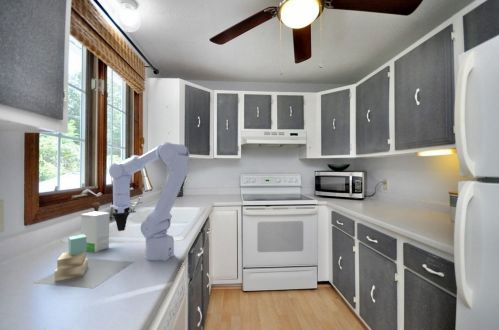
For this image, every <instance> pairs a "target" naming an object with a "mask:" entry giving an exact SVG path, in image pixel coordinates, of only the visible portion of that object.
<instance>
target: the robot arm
mask: <svg viewBox="0 0 499 330" xmlns="http://www.w3.org/2000/svg"><path fill="white" fill-rule="evenodd" d="M190 156H191V154H190V151H189V149H188V147H187V146H185V145H184V144H178V143H171V142H163V143H162V144H159V145H157V147H155V148H153V149H152V150H149V151H148V152H146V153H145V154H142V155H138V154H137V155H136V154H132V155H130V157H129V158H127V159H123V160H122V161H121V162H113V163H112V164H111V165H110V166H109V169H108V172H109V175H110V177H111V178H112V201H113V203H112V204H111V205H109V208H110V209H111V208H112V209H113V210H114V212H112V216H113V218H114V220H115V224H116V227H117V230H118V232H123V231H126V230H125V229H126V226H127V225H126V224H127V220H128V217H129V215H130V213H131V211H130V210H131V203H130V202H131V189H130V188H131V185H130V183H131V180H132V176H133V174H135V173H137V172H139V171H141V170H143V169H144V168H145V167H146V165H147V164H150V163H152V162H155V161H157V160H160V159H161V160H162V161H163V163H165V165H166V166H167V167H168V168H169V171H170V173H169V175H168V177H167V178H166V179H167V180H166V181H165V184H164V186H163V188H162V191H161V194H160V196H159V199H158V200H157V202H156V205H155V207H154V209H153V210H152V211H151V212H150V213H149V214H148V215H147V217H146V218H145V219H144V220H143V221H142V222H141V224H140V232H141V234H142V235H143V237H144V238H145V259H146V260H147V261H167V260H169V258H171V257H172V258H173V257H175V256H176V254H175V241H174V240H175V239H174V237H173V235H170V234H167V233H168V230H169V228H171V222H172V221H171V220H172V217H173V215H172V213H171V210H172V209H173V206H174V203H175V202H176V199H177V197H178V195H179V193H180V190H181V188H182V185H183V183H184V181H185V179H186V177H187V175H188V172H189V158H190Z"/></svg>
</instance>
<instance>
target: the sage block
mask: <svg viewBox="0 0 499 330" xmlns="http://www.w3.org/2000/svg"><path fill="white" fill-rule="evenodd" d="M68 252H69V254H70V255H71V256H72V255H76V254H80V253H85V252H86V253H87V252H88V251H86V236H85V235H84V234H82V235H81V234H78V235H73V236H68Z"/></svg>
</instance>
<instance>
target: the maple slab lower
mask: <svg viewBox="0 0 499 330" xmlns="http://www.w3.org/2000/svg"><path fill="white" fill-rule="evenodd" d="M88 259H89V258H88V257H86V259H85V261H84V263H83V265H82V266H77V267H72V268H66V269H60V270H57V268H55V270H54V273H55V281H59V280H64V279H69V278H74V277H79V276H84V274H85V272H86V270H87V267H88Z"/></svg>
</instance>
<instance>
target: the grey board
mask: <svg viewBox="0 0 499 330" xmlns="http://www.w3.org/2000/svg"><path fill="white" fill-rule="evenodd" d="M133 263H135V261H130V260H129V261H127V260H116V259H115V260H113V259H100V258H99V259H97V258H88V267H87V270H86V272H85V274H84V276H79V277H74V278H69V279H64V280H59V281H55V272H54V273H51V274H49V275H48V276H46V277H43V278H40V279H39V280H37V281H34V282H33V283H34V284H43V285H51V286H52V285H53V286H62V287H63V286H64V287H74V288H86V289H95V288H96V287H99V285H101V284H103V283H104V282H106V281H108V280H109V279H110V278H112V277H113V276H115V275H117V274H119V273H120V272H121V271H123V270H124V269H126V268H127V267H129V266H131V265H132V264H133Z"/></svg>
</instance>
